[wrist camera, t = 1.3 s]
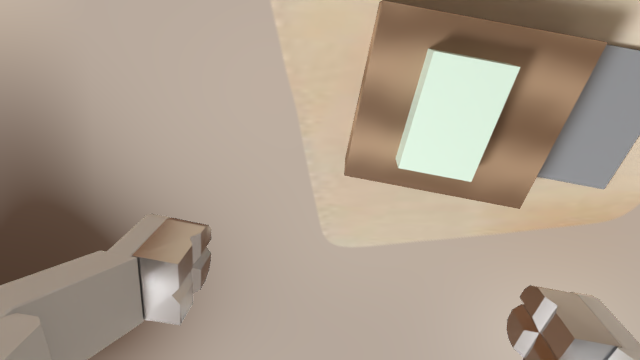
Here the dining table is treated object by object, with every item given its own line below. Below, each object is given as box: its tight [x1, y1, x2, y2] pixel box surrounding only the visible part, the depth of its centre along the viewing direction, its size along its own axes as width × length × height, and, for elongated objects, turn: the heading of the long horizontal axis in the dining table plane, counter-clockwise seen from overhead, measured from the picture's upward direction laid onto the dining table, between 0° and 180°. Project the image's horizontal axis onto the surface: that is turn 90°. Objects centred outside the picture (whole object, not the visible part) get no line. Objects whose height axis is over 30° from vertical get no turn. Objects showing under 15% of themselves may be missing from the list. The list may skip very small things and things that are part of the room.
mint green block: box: [396, 48, 520, 182], centre depth 25 cm, size 9×6×2 cm, turn 170°
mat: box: [537, 45, 640, 189], centre depth 29 cm, size 12×8×1 cm
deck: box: [344, 0, 608, 209], centre depth 28 cm, size 14×16×4 cm
